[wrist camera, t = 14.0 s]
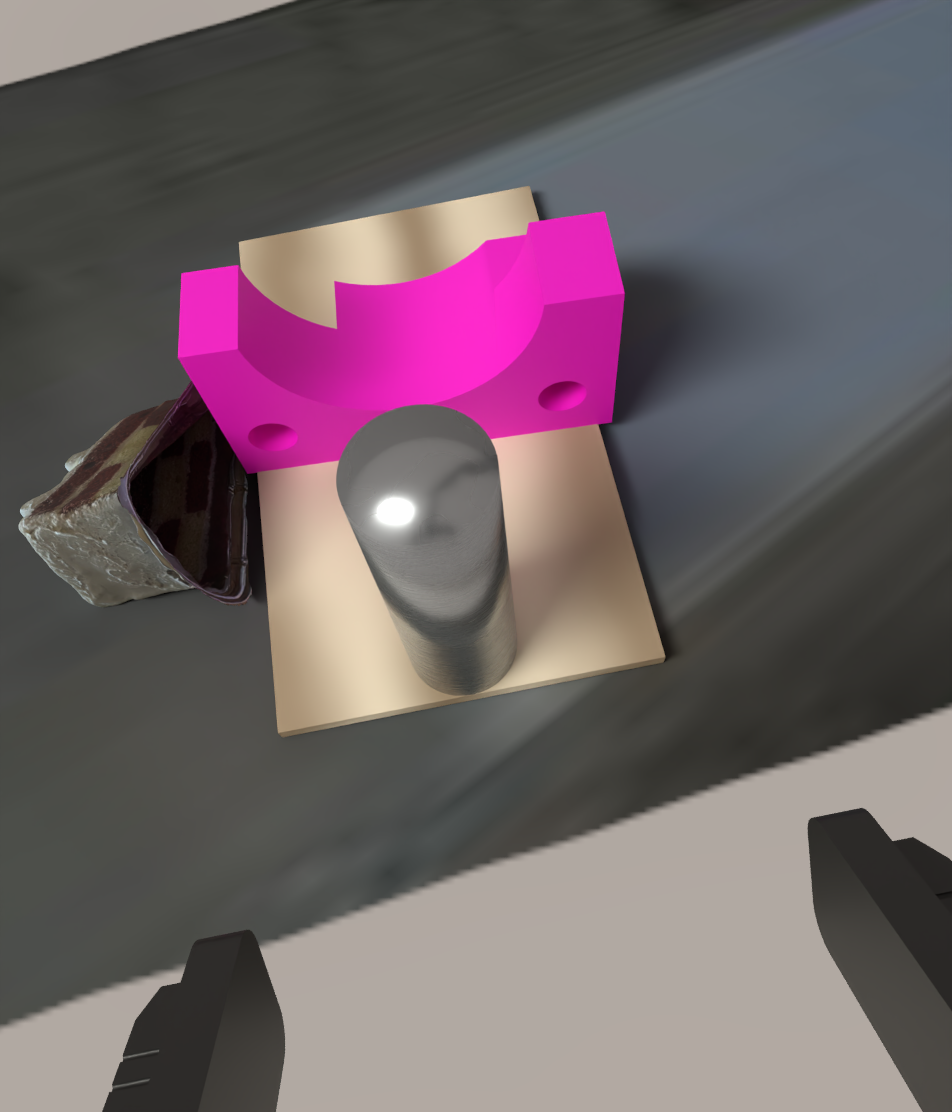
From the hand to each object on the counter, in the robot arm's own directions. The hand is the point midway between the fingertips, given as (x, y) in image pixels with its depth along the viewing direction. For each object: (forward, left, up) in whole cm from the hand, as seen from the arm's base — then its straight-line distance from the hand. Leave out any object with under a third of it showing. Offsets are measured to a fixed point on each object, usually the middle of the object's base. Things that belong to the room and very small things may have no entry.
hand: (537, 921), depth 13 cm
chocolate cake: (+12, -20, -18) cm, 29 cm away
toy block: (+1, -23, -17) cm, 28 cm away
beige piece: (+1, -21, -17) cm, 27 cm away
